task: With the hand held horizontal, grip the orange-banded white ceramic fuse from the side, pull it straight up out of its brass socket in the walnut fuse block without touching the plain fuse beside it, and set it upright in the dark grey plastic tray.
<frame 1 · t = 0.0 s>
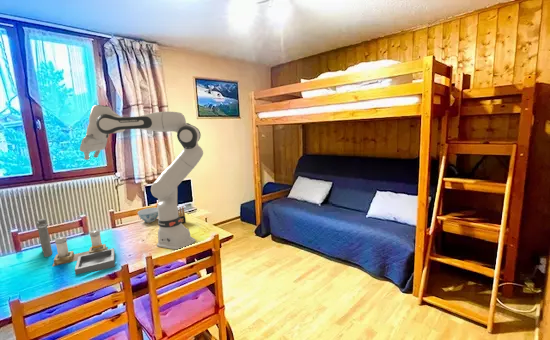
hand: (91, 158, 155), 52 cm above the table, tool tilted 20°, fingers open, 8 cm apart
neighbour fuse: (64, 259, 147), point 1 cm above the table, touching fuse block
ammunition clip: (178, 224, 195), on the table
chinaware: (150, 221, 205), on the table
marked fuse: (98, 252, 154), point 1 cm above the table, touching fuse block
fuse block: (82, 257, 151), on the table
tray: (96, 264, 142), on the table
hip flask: (48, 253, 159), on the table
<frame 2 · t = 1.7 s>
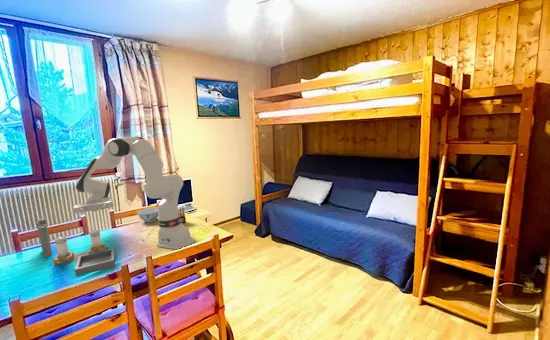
hand: (93, 209, 161), 22 cm above the table, tool horizontal, fingers open, 8 cm apart
nothing on the table moved.
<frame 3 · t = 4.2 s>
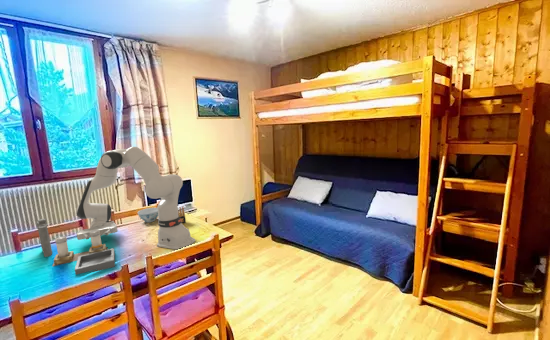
hand: (97, 235, 159), 8 cm above the table, tool horizontal, fingers open, 8 cm apart
nothing on the table moved.
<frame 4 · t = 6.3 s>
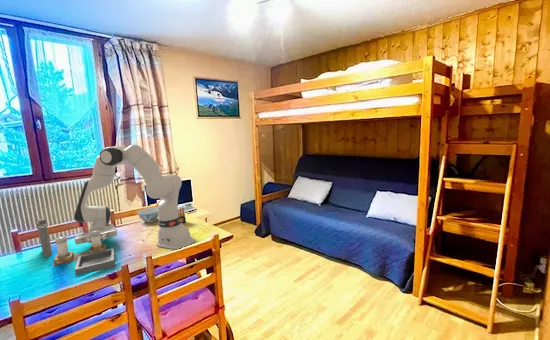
hand: (96, 240, 152), 8 cm above the table, tool horizontal, fingers closed on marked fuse, 4 cm apart
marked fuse: (98, 252, 154), point 1 cm above the table, touching fuse block, gripper
everything else where it was.
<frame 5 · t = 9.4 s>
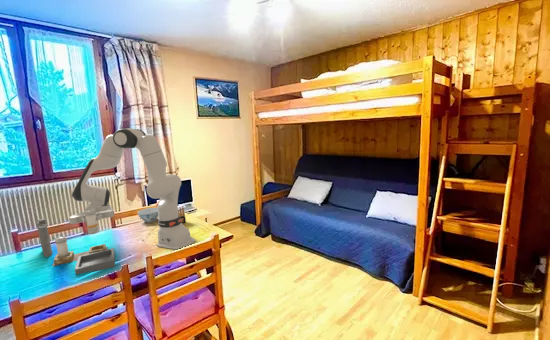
hand: (91, 219, 145), 22 cm above the table, tool horizontal, fingers closed on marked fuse, 4 cm apart
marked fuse: (93, 232, 147), point 14 cm above the table, touching gripper
everything else where it was.
when the fingers open (9 cm above the table, at t = 12.7 s): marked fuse drops 1 cm, resting on tray.
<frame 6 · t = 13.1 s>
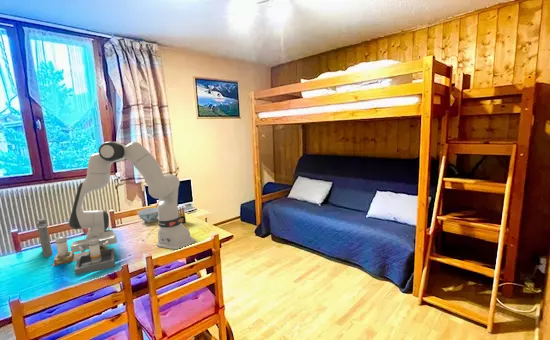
hand: (93, 248, 140), 9 cm above the table, tool horizontal, fingers open, 8 cm apart
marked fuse: (96, 262, 142), point 1 cm above the table, touching tray
everything else where it was.
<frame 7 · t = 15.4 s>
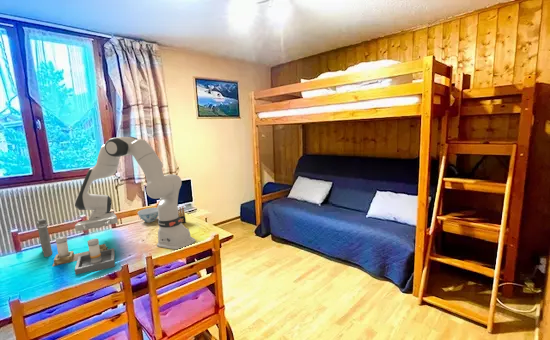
hand: (96, 226, 152), 16 cm above the table, tool horizontal, fingers open, 8 cm apart
nothing on the table moved.
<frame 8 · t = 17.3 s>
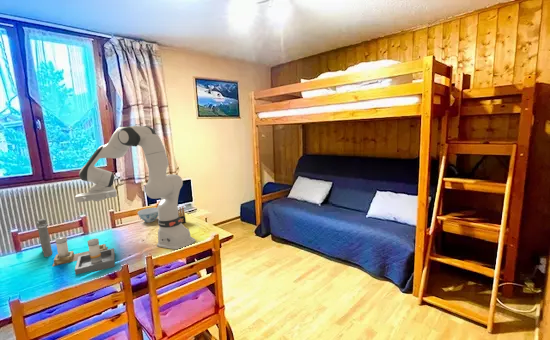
hand: (95, 198, 155), 30 cm above the table, tool horizontal, fingers open, 8 cm apart
nothing on the table moved.
at the end: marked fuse inside the target area on the tray (0.1 cm from its centre), point 1.0 cm above the tray's base; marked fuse tilted 0°; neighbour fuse moved 0.0 cm from its start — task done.
